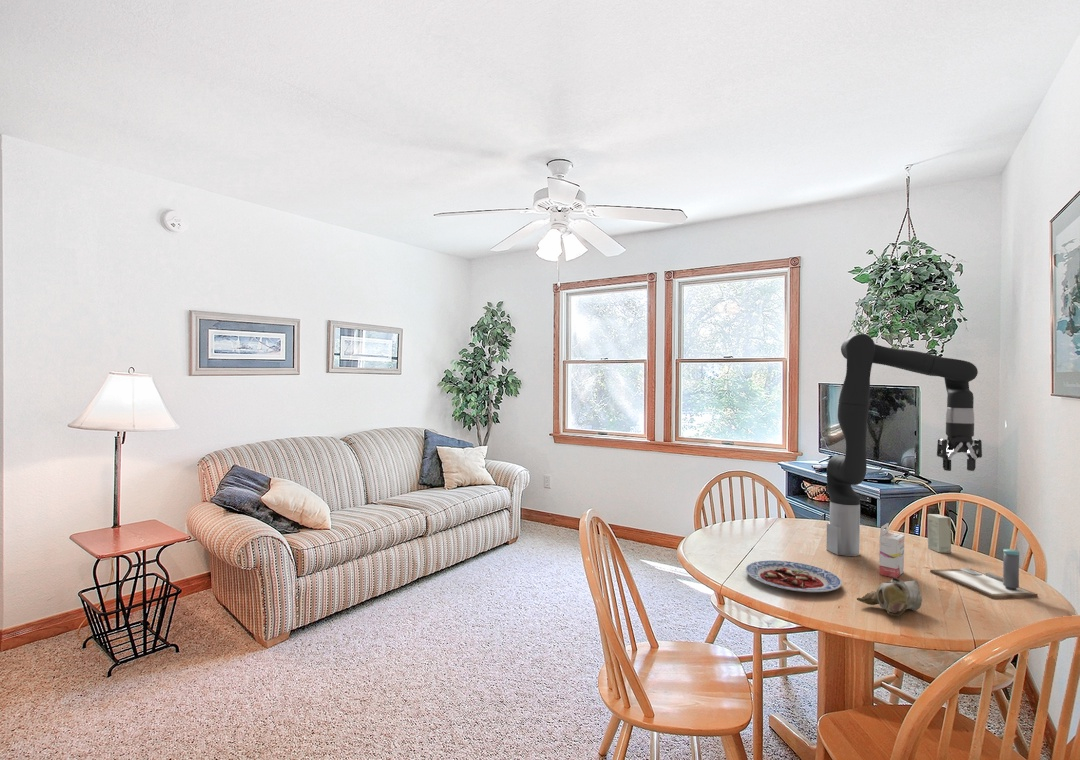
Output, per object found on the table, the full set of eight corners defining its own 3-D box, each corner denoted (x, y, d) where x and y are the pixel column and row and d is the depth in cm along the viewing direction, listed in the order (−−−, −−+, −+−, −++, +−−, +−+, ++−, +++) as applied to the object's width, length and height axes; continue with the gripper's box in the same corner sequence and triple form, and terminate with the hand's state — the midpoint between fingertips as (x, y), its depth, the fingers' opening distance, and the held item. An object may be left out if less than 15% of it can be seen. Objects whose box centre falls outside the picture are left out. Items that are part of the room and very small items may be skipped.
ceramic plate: (806, 606, 147) (807, 594, 147) (727, 576, 169) (727, 566, 169) (860, 588, 161) (860, 577, 161) (780, 562, 182) (780, 553, 182)
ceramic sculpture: (935, 580, 141) (889, 590, 137) (936, 615, 142) (891, 625, 137) (897, 567, 152) (853, 576, 147) (898, 599, 152) (855, 608, 147)
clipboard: (992, 598, 153) (992, 592, 153) (930, 572, 174) (930, 566, 174) (1037, 597, 155) (1037, 590, 155) (970, 571, 176) (970, 565, 176)
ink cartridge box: (897, 578, 168) (898, 529, 168) (878, 574, 172) (879, 526, 172) (904, 572, 174) (905, 524, 174) (886, 568, 178) (887, 521, 178)
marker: (1011, 591, 157) (1011, 552, 157) (999, 586, 160) (999, 548, 160) (1022, 590, 157) (1022, 552, 157) (1010, 586, 160) (1010, 548, 160)
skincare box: (951, 553, 194) (952, 518, 194) (939, 553, 194) (939, 517, 194) (938, 547, 201) (939, 513, 201) (926, 547, 201) (927, 513, 201)
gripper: (949, 422, 181) (949, 472, 181) (989, 422, 182) (988, 472, 182) (931, 420, 188) (930, 468, 188) (969, 420, 190) (968, 468, 190)
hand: (959, 470), depth 185 cm, fingers open, 8 cm apart
